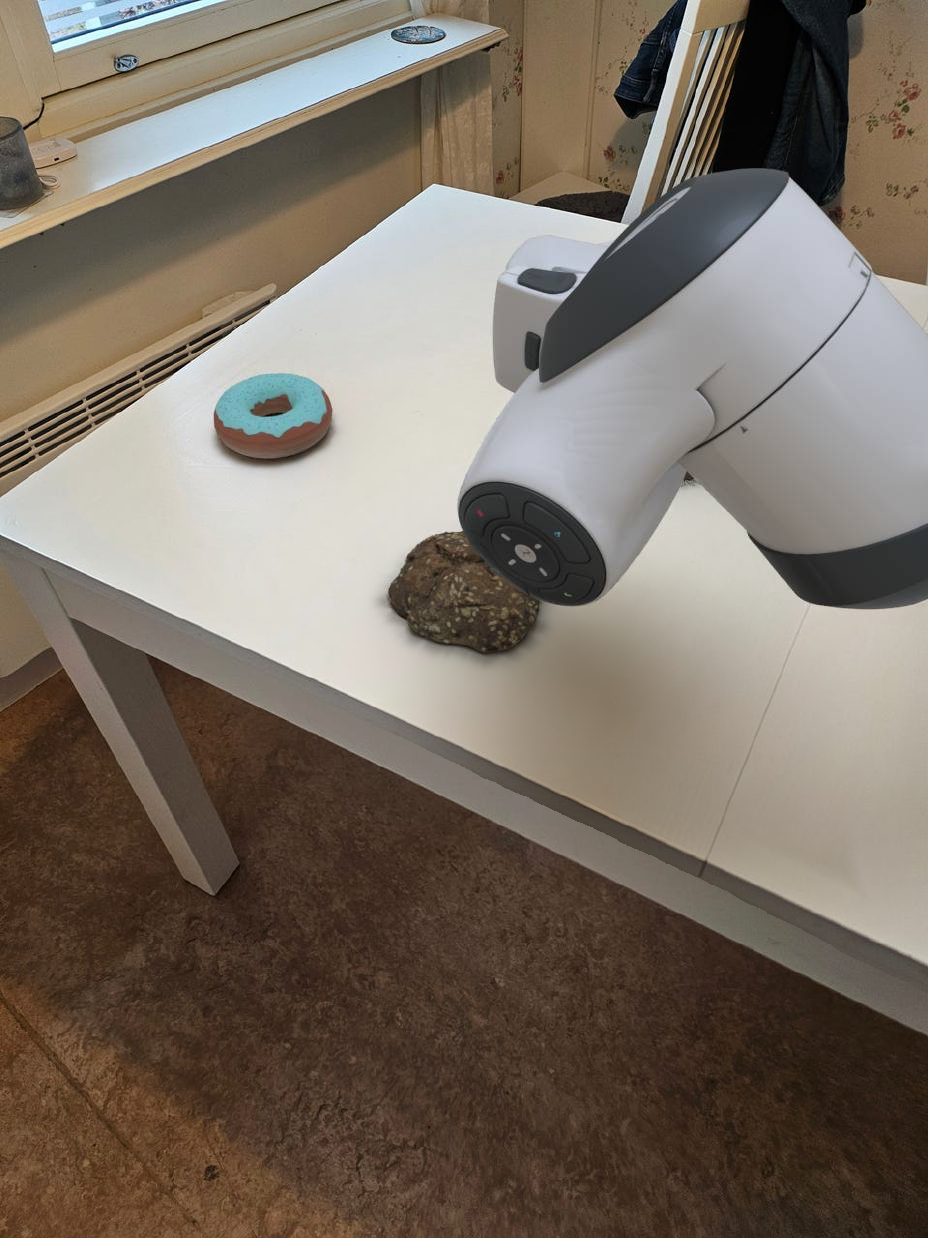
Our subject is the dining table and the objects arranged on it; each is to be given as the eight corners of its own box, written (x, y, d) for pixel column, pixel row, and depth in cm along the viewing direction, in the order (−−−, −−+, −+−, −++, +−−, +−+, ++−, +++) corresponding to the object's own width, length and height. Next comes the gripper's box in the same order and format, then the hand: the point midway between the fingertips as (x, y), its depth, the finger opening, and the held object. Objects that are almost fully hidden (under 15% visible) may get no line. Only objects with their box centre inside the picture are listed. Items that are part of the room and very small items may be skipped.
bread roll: (553, 557, 76) (557, 513, 73) (528, 662, 68) (531, 619, 64) (412, 536, 78) (409, 493, 75) (372, 636, 70) (366, 592, 66)
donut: (354, 442, 88) (350, 408, 85) (242, 481, 84) (234, 446, 81) (307, 387, 95) (301, 354, 92) (201, 420, 91) (192, 387, 88)
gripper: (873, 355, 40) (909, 236, 48) (469, 270, 46) (564, 178, 54) (831, 467, 44) (871, 341, 53) (469, 376, 50) (557, 276, 59)
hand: (713, 257), depth 54 cm, fingers open, 8 cm apart
